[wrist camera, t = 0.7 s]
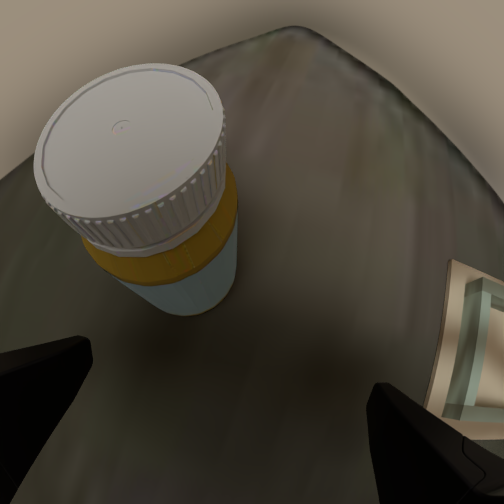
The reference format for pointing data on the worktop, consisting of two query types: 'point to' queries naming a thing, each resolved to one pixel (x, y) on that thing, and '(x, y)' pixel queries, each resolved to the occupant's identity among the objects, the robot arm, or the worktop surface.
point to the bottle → (147, 183)
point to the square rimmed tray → (470, 355)
